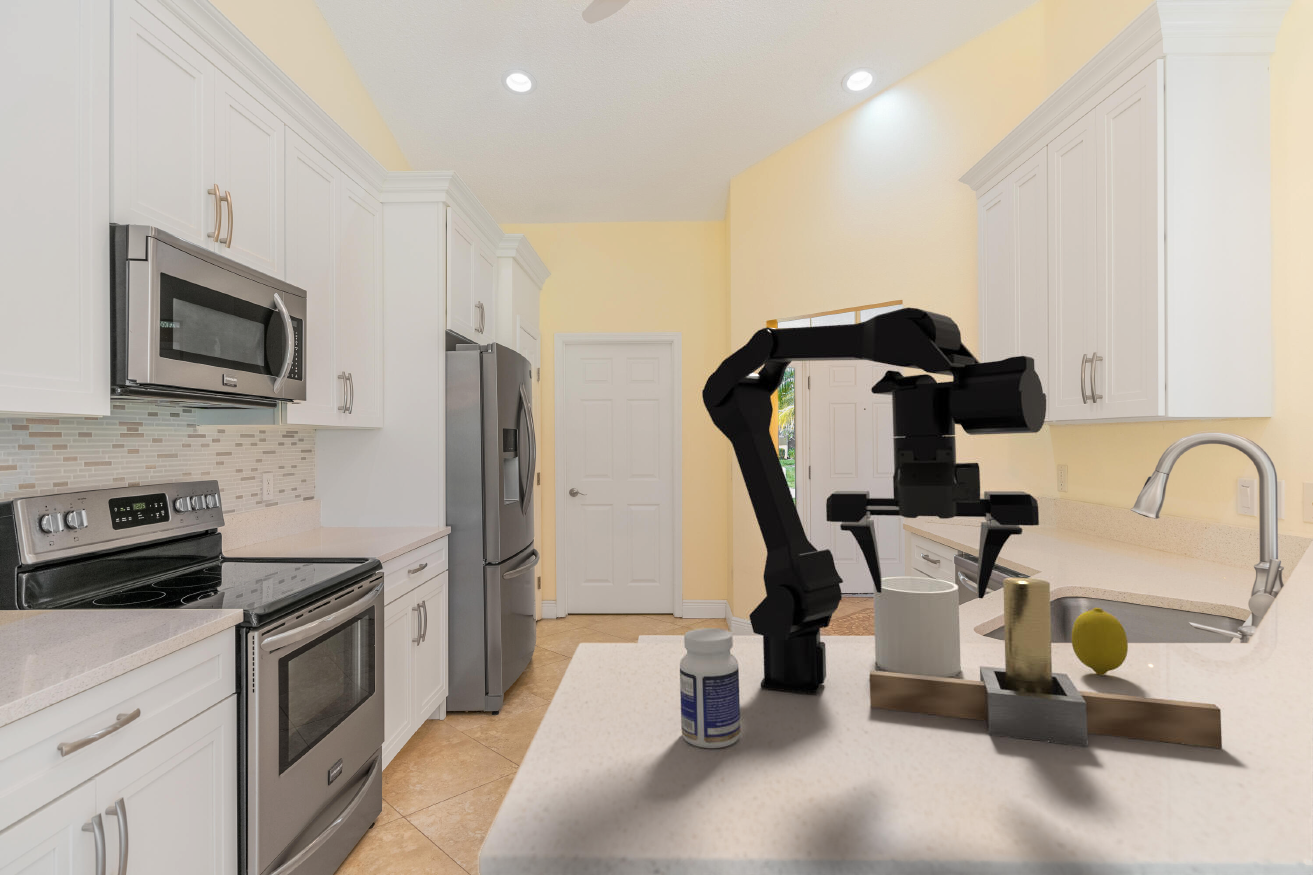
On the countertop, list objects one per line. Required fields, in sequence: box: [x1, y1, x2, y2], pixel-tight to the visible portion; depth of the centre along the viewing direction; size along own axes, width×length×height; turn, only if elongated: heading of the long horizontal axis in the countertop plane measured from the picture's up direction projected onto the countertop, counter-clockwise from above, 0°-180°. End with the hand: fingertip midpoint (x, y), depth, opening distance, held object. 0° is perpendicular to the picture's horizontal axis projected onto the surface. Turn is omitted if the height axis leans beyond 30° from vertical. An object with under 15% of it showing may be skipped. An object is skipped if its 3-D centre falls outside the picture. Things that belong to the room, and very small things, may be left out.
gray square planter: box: [979, 665, 1089, 748], centre depth 64 cm, size 8×8×4 cm
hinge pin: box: [1002, 577, 1053, 695], centre depth 64 cm, size 4×4×14 cm
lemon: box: [1071, 607, 1129, 676], centre depth 77 cm, size 6×6×8 cm
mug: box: [872, 576, 962, 678], centre depth 83 cm, size 13×10×10 cm
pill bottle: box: [679, 627, 741, 749], centre depth 63 cm, size 6×6×10 cm
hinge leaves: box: [869, 670, 1223, 749], centre depth 64 cm, size 30×1×4 cm, turn 68°
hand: (928, 594), depth 64 cm, fingers open, 9 cm apart
